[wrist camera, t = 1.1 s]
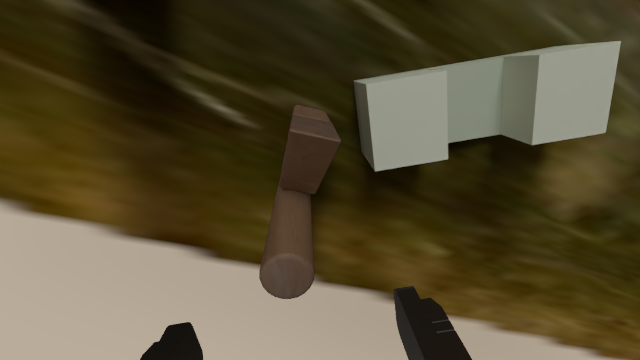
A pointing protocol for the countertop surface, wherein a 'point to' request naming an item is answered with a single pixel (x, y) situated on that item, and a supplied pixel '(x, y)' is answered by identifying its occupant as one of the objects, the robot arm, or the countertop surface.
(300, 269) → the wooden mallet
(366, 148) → the slotted beam
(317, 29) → the countertop surface
